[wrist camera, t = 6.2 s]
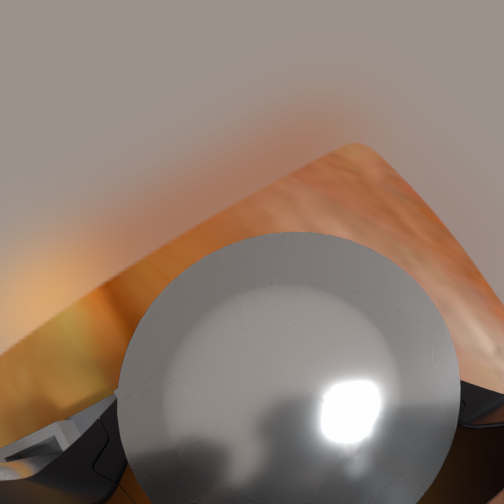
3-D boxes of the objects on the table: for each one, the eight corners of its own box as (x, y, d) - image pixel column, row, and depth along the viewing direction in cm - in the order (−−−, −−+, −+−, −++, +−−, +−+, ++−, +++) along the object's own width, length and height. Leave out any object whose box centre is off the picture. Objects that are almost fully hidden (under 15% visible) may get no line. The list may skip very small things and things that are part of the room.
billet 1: (88, 517, 13) (4, 574, 2) (37, 486, 14) (-60, 514, 3) (97, 470, 15) (-1, 516, 5) (44, 440, 16) (-66, 451, 5)
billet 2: (296, 440, 13) (447, 522, 2) (197, 437, 13) (118, 546, 2) (299, 349, 15) (442, 245, 5) (203, 344, 15) (145, 220, 4)
